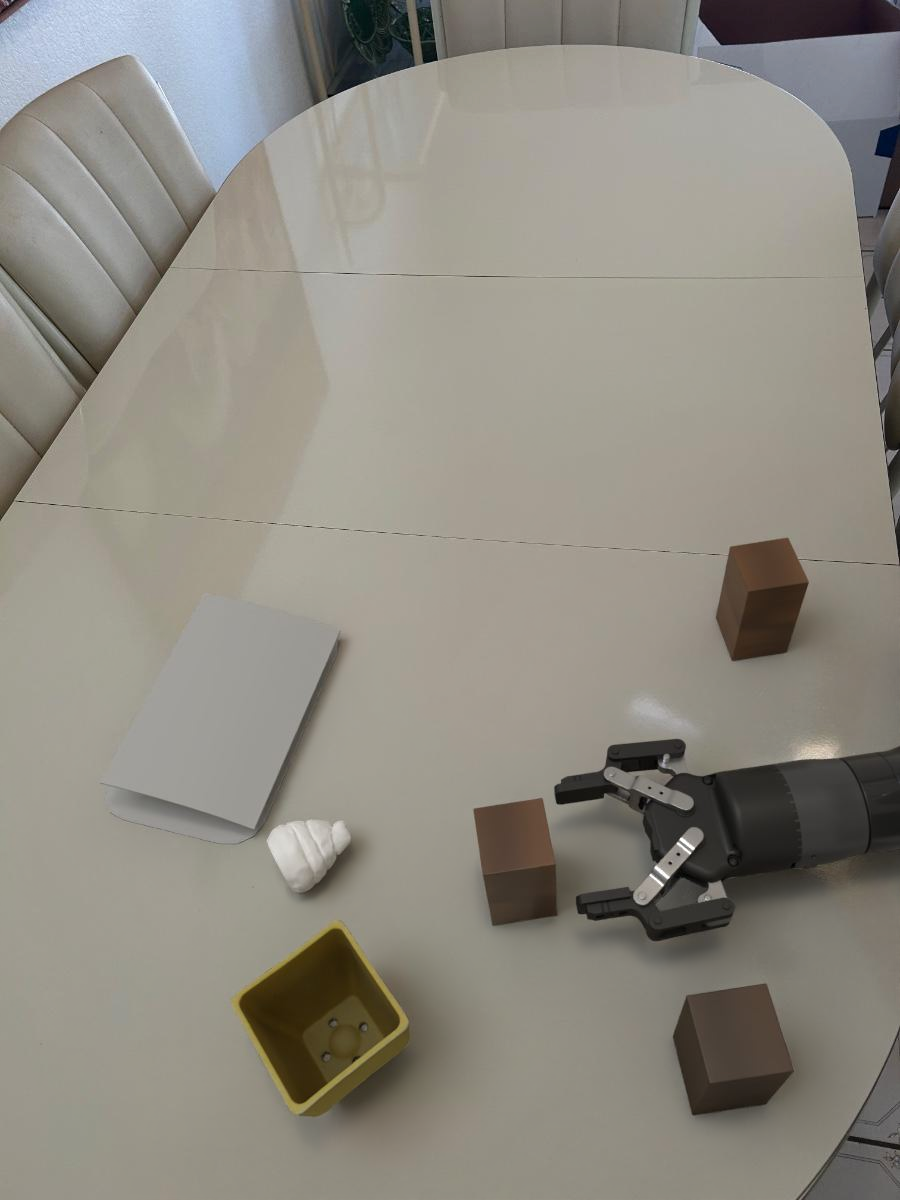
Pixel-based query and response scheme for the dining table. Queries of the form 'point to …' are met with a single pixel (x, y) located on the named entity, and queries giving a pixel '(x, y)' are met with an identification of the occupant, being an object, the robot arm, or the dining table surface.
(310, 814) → the dining table surface
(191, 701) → the book
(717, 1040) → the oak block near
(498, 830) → the walnut block middle
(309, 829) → the white swirl cone
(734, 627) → the walnut block far
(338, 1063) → the flower pot
